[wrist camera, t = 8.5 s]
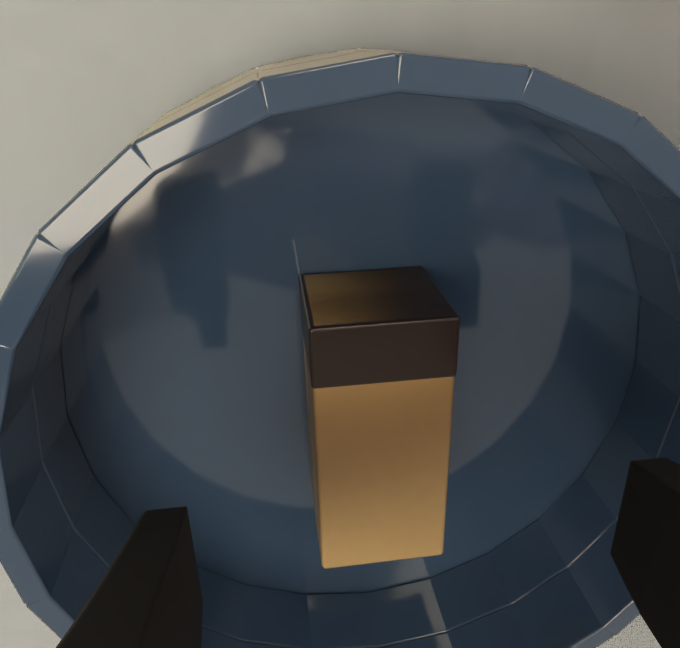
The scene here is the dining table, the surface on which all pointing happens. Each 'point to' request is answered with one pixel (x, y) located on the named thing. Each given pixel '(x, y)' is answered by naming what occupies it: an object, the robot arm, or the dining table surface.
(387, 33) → the dining table surface
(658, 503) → the robot arm
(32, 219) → the dining table surface
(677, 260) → the slate bowl
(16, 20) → the dining table surface
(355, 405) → the tan block dark cap
